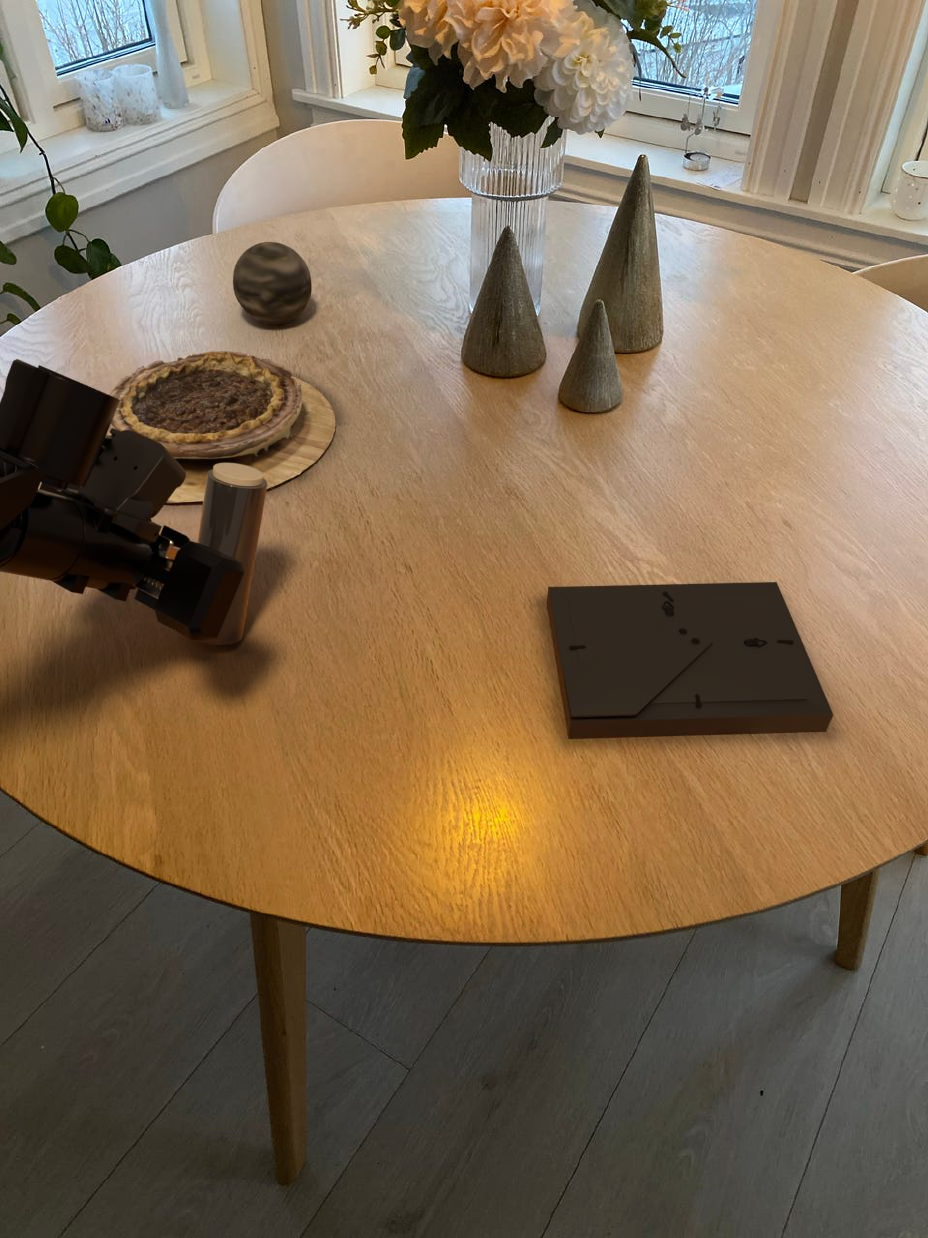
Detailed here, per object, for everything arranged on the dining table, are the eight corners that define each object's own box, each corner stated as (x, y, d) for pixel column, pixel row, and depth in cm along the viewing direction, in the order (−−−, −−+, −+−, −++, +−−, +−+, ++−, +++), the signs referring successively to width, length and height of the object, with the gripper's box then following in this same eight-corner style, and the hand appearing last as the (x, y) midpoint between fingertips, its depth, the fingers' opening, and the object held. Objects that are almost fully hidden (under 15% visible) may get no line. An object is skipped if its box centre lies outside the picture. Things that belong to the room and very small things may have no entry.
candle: (194, 646, 79) (219, 479, 74) (178, 620, 83) (200, 458, 77) (250, 644, 82) (277, 482, 76) (232, 619, 86) (256, 463, 80)
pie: (244, 347, 121) (238, 309, 117) (386, 434, 107) (385, 394, 104) (35, 430, 107) (21, 390, 103) (168, 543, 93) (157, 501, 89)
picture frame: (568, 738, 76) (826, 731, 77) (571, 715, 74) (836, 708, 75) (546, 603, 87) (771, 598, 88) (548, 580, 85) (778, 575, 86)
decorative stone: (310, 338, 123) (302, 262, 116) (232, 337, 123) (219, 261, 116) (319, 303, 130) (312, 229, 123) (245, 302, 130) (234, 228, 123)
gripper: (199, 470, 59) (328, 520, 74) (5, 383, 67) (156, 443, 81) (132, 635, 60) (273, 652, 74) (-53, 530, 67) (107, 564, 82)
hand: (200, 571), depth 78 cm, fingers closed
